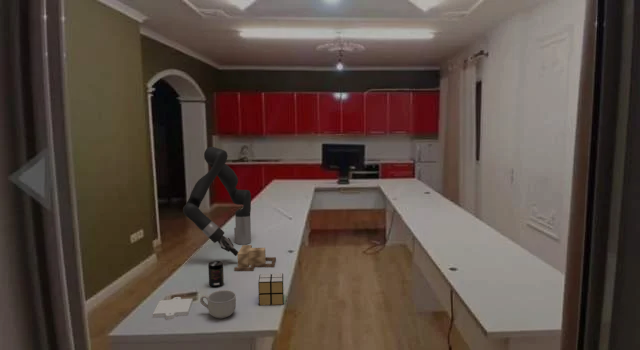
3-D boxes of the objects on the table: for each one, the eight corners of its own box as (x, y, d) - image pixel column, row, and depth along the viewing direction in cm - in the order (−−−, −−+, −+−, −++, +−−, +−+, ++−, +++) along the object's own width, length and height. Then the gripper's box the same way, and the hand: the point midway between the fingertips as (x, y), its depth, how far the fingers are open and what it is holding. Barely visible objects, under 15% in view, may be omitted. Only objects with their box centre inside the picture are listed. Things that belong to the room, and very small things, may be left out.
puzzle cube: (260, 296, 186) (259, 273, 185) (283, 295, 187) (283, 273, 186) (258, 305, 176) (258, 282, 175) (283, 305, 177) (283, 281, 176)
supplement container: (222, 281, 203) (221, 260, 202) (225, 286, 197) (224, 264, 196) (207, 284, 201) (207, 262, 200) (210, 289, 195) (209, 266, 193)
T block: (237, 269, 221) (237, 253, 220) (242, 259, 237) (242, 245, 236) (263, 268, 222) (263, 253, 221) (266, 259, 237) (266, 244, 237)
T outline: (234, 271, 218) (234, 268, 218) (241, 257, 241) (241, 254, 241) (273, 270, 219) (273, 267, 218) (276, 256, 241) (276, 254, 241)
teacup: (241, 311, 171) (241, 291, 170) (226, 323, 161) (226, 302, 160) (211, 306, 176) (210, 287, 175) (195, 317, 166) (194, 297, 165)
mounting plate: (161, 302, 181) (161, 298, 181) (193, 300, 183) (193, 296, 183) (151, 321, 163) (151, 316, 163) (187, 319, 165) (186, 314, 165)
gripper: (215, 229, 220) (240, 253, 222) (220, 224, 234) (244, 245, 235) (205, 240, 221) (230, 263, 223) (211, 233, 234) (234, 255, 236)
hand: (237, 254), depth 229 cm, fingers closed
